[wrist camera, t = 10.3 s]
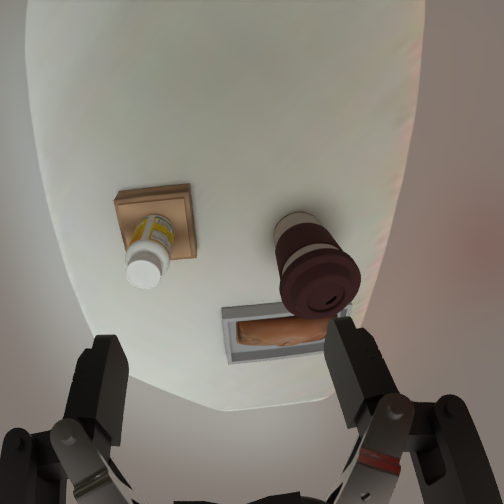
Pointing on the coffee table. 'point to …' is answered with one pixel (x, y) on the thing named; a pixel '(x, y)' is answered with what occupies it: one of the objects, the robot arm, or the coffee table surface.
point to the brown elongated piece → (281, 331)
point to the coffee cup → (313, 269)
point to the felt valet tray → (264, 353)
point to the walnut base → (164, 204)
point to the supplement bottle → (149, 251)
